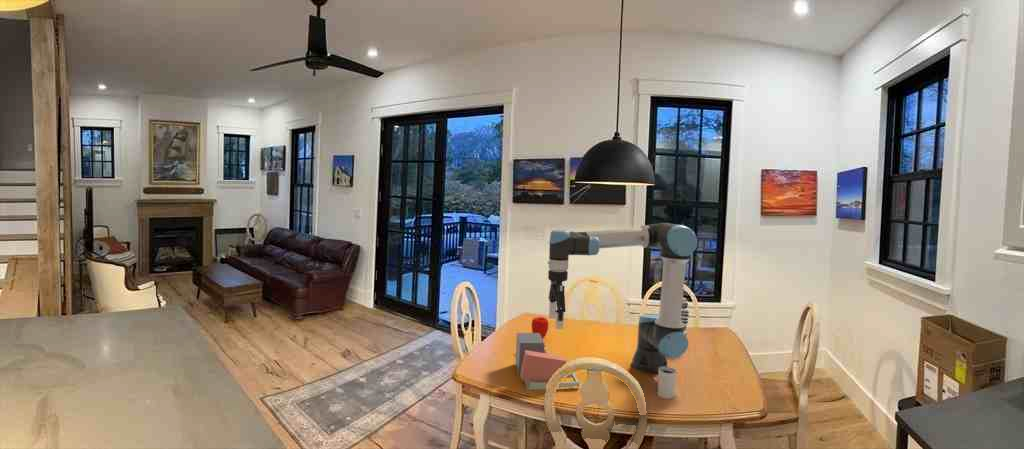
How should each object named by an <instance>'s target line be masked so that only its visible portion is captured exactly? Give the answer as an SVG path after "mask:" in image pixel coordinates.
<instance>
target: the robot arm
mask: <svg viewBox="0 0 1024 449" xmlns="http://www.w3.org/2000/svg"><path fill="white" fill-rule="evenodd" d="M549 235H550V236H549V242H548V243H549V252H548V253H549V257H548V261H547V264H548V270H547V271H548V273H547V275H548V276H547V279H548V280H549V281H550V288H549V294H548V300H549V307H548V308H549V310H548V312H549V313H548V319H555V329H556V330H563V329H564V319H565V318H564V316H565V313H566V298H565V297H566V294H565V285H563V283H564V282H567V281H568V275H569V274H568V270H569V256H588V257H590V256H597V255H598V254H599V252H600V250H601V249H609V248H610V249H612V248H623V247H624V248H625V247H639V246H641V247H642V248H644V249H645V248H652V249H653V248H654V249H659V250H660V251H659V252H660V253H659V257H660V259H662V261H663V264H662V277H661V278H662V279H661V288H660V289H661V291H660V302H659V312H658V314H643V315H642V314H641V315H640V316H639V317H638V318H639V319H638V329H637V330H638V331H637V347H636V350H635V352H634V355H633V357H632V358H631V359H632V367H634V369H635V368H636V369H637V370H640V371H642V372H646V373H652V374H658V373H659V367H669V363H668V360H667V358H668V359H677V358H679V357H681V356H683V354H685V353H686V352H687V351H688V348H689V339H688V337H687V335H686V336H685V334H684V324H683V323H682V321H681V313H682V301H683V297H684V289H685V288H684V287H685V276H686V275H685V274H686V264H687V263H688V262H689V261H690V260H691V255H692V254H694V252H695V251H696V249H697V246H698V238H697V236H696V233H695V232H694V230H692V229H691V228H690V227H688V226H685V225H682V224H676V223H675V224H674V223H669V222H661V223H654V224H645V225H641V226H640V227H637V228H636V227H635V228H623V229H622V228H620V229H607V230H594V231H593V230H592V231H591V230H590V231H589V230H588V231H568V230H564V229H563V230H561V229H555V230H551V232H550V233H549Z"/></svg>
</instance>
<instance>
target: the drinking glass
mask: <svg viewBox="0 0 1024 449" xmlns="http://www.w3.org/2000/svg"><path fill="white" fill-rule="evenodd" d="M657 374H658V377H657V394H658V396H659V398H663V399H668V400H669V399H671V400H672V399H673V398H674V395H675V387H676V381H677V380H676V379H677V370H676V369H675V368H673V367H670V366H668V367H659V373H657Z"/></svg>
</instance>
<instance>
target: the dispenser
mask: <svg viewBox="0 0 1024 449" xmlns="http://www.w3.org/2000/svg"><path fill="white" fill-rule="evenodd" d="M515 343H516V344H515V367H516V368H515V369H516V371H517V375H518V377H521V376H520V372H521V367H522V362H523V357H524V352H525V350H527V351H533V352H540V353H544V349H545V348H546V343H545V341H544V338H542V337H541V335H540V333H533V332H516V342H515Z"/></svg>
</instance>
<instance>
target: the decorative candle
mask: <svg viewBox="0 0 1024 449" xmlns="http://www.w3.org/2000/svg"><path fill="white" fill-rule="evenodd" d="M688 305H689V300H688V299H687V298H686V297H684V296H683V301H682V313H681V321H682V323H683V324H684V334H685V336H686V337H687V335H688V334H687V326H688V321H689V318H688V317H689V313H690V311H689V306H688Z"/></svg>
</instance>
